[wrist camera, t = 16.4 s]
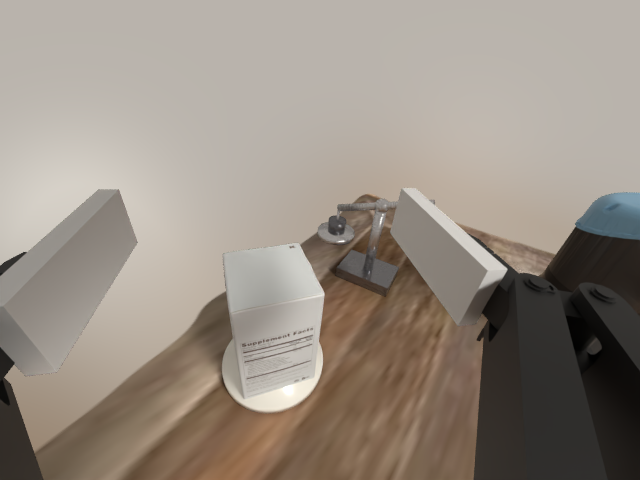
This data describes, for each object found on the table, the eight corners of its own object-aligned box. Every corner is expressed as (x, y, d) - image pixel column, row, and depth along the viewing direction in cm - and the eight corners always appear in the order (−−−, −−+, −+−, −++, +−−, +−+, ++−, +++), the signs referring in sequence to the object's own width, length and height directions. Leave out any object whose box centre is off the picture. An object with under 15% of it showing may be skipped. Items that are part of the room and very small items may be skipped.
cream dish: (338, 349, 39) (339, 343, 39) (285, 439, 30) (285, 433, 29) (266, 310, 44) (265, 305, 44) (200, 377, 35) (198, 371, 34)
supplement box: (233, 337, 38) (220, 250, 30) (296, 322, 41) (299, 239, 33) (241, 402, 31) (227, 312, 23) (316, 379, 34) (327, 292, 26)
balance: (427, 287, 52) (462, 198, 42) (419, 311, 47) (457, 216, 37) (325, 247, 60) (334, 165, 50) (308, 264, 55) (314, 176, 45)
